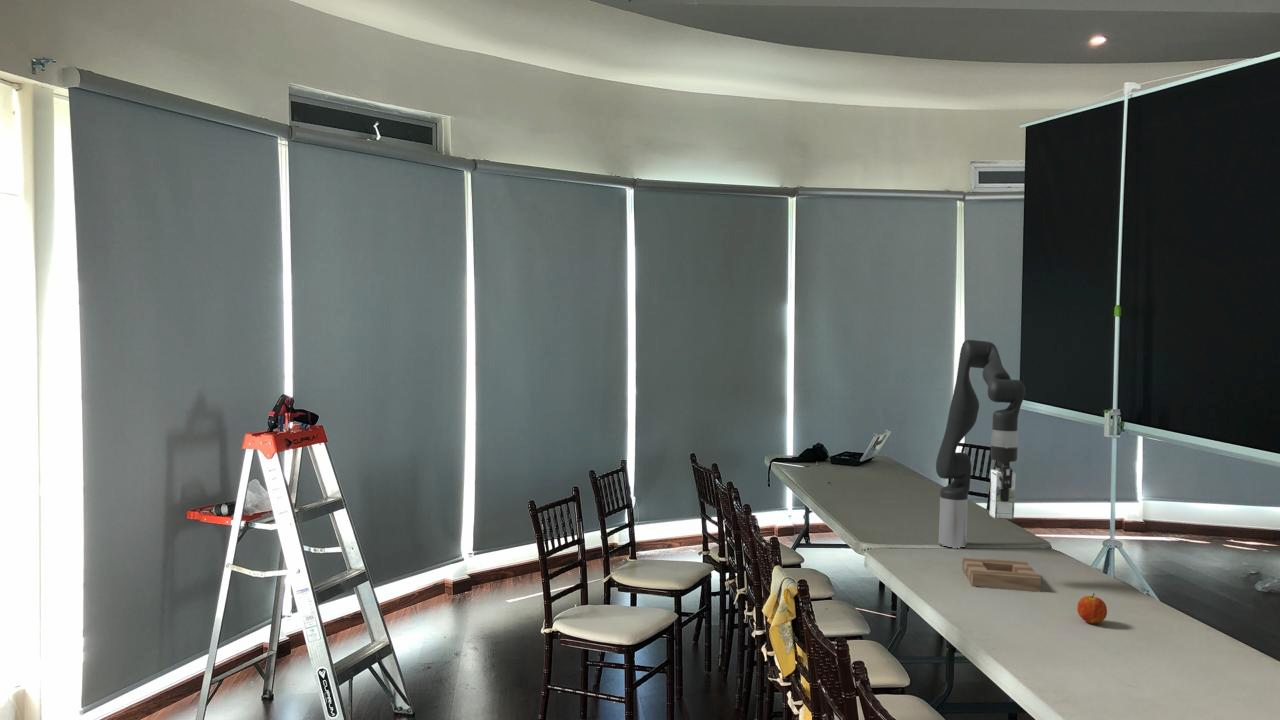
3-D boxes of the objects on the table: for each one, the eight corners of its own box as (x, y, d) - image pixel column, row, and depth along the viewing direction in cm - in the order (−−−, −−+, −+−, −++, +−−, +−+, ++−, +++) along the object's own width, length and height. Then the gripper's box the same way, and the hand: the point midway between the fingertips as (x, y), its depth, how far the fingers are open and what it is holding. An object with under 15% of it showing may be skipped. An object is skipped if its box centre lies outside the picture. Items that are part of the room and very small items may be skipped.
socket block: (962, 569, 280) (962, 557, 280) (1025, 574, 276) (1026, 561, 276) (972, 586, 262) (972, 573, 261) (1040, 591, 258) (1040, 578, 258)
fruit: (1070, 619, 232) (1071, 590, 232) (1090, 617, 235) (1091, 587, 235) (1092, 628, 226) (1093, 597, 226) (1112, 625, 228) (1113, 595, 228)
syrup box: (1008, 515, 271) (1009, 469, 270) (1014, 519, 265) (1016, 472, 265) (989, 515, 272) (990, 468, 271) (994, 519, 266) (996, 471, 265)
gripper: (986, 441, 275) (985, 494, 276) (995, 447, 261) (993, 503, 262) (1012, 442, 274) (1010, 495, 274) (1022, 448, 260) (1020, 504, 260)
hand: (1002, 499), depth 268 cm, fingers closed on syrup box, 6 cm apart
